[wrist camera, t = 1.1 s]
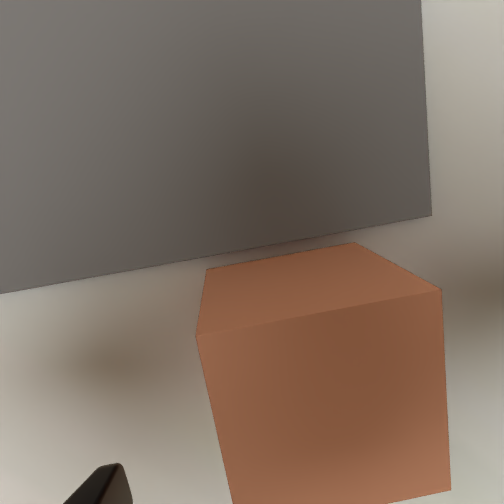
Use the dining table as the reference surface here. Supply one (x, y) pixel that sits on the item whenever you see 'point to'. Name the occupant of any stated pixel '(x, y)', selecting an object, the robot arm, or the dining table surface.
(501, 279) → the dining table surface
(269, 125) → the mat
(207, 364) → the block
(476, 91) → the dining table surface
